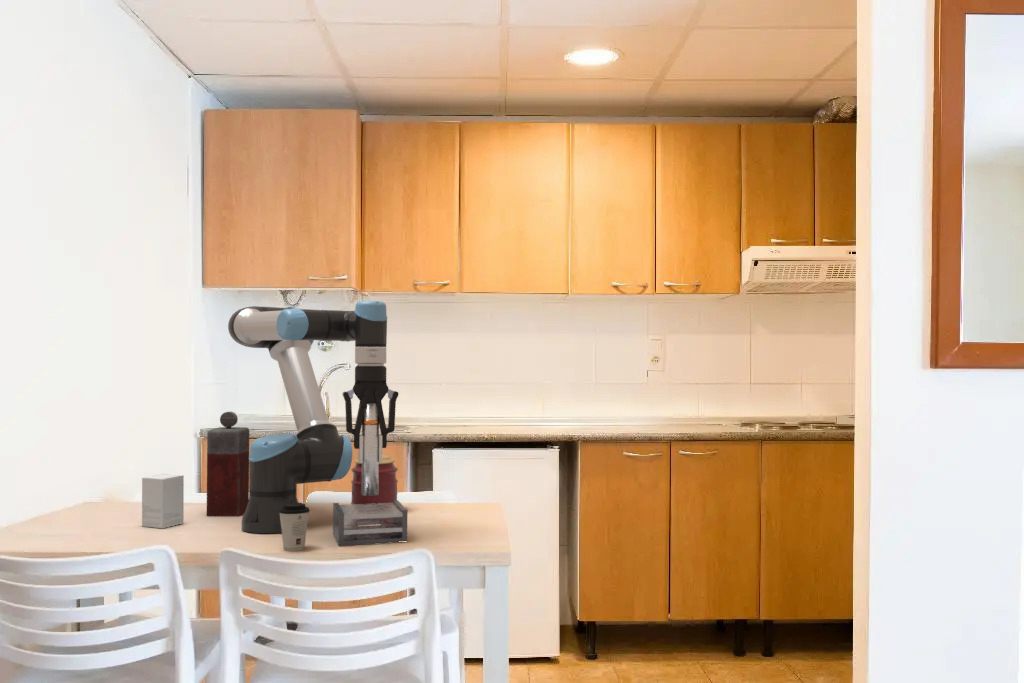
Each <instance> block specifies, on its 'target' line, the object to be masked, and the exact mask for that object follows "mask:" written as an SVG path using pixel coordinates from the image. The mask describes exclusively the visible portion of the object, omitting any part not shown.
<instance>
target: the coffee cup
mask: <svg viewBox="0 0 1024 683" xmlns="http://www.w3.org/2000/svg"><path fill="white" fill-rule="evenodd" d="M310 511H311V510H310V508H309V507H308V506H306V504H305V503H303V502H299V503H288V504H284V506H283V508H280V510H279V513H280V521H281V530H282V533H281V538H282V546H283V550H284V551H288V552H297V551H301V550H304V549H305V543H306V538H307V537H306V536H307V528H308V522H309V513H310Z"/></svg>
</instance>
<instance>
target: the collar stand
mask: <svg viewBox="0 0 1024 683" xmlns="http://www.w3.org/2000/svg"><path fill="white" fill-rule="evenodd" d="M332 504H333V505H332V535H333V537H334V539H335V542H336V543H337V546H338V547H345V546H346V547H347V546H361V545H376V544H375V543H382V544H389V543H388V542H399V541H407V542H408V512H409V511H408V509H407V508H406V506H404V505H403V504H402V503H401V502H400V501H399V500H398V499H397V500H395V501H393V503H373V504H351V503H350V504H339V502H333V503H332ZM371 510H380V511H371ZM399 543H400V542H399Z"/></svg>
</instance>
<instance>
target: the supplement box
mask: <svg viewBox="0 0 1024 683" xmlns="http://www.w3.org/2000/svg"><path fill="white" fill-rule="evenodd" d="M184 479H185V478H184V475H181V474H170V473H169V474H168V473H160V474H156V475H150V476H149V475H148V476H144V477H142V478H141V527H146V528H156V529H167V528H171V527H170V526H172V527H175V525H176V526H179V525H178V524H181V525H183V524H184V512H185V511H184V505H185V504H184V496H185V495H184V494H185V493H184V488H185V487H184V483H185V482H184V481H185V480H184ZM166 527H167V528H166Z"/></svg>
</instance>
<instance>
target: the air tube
mask: <svg viewBox="0 0 1024 683" xmlns="http://www.w3.org/2000/svg"><path fill="white" fill-rule="evenodd" d="M379 431H380V426H379V415H378V408H377V403H366V407H365V408H364V416H363V421H362V426H361V435H362V436H363V463H362V495H364V496H374V495H378V482H379V434H380V432H379Z"/></svg>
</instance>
